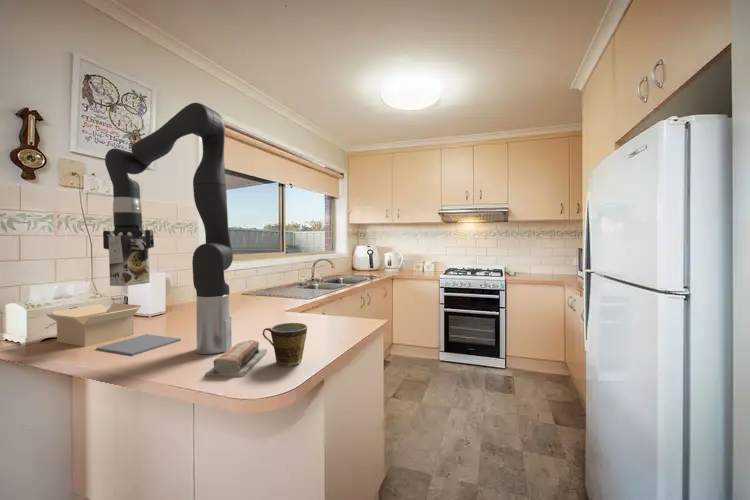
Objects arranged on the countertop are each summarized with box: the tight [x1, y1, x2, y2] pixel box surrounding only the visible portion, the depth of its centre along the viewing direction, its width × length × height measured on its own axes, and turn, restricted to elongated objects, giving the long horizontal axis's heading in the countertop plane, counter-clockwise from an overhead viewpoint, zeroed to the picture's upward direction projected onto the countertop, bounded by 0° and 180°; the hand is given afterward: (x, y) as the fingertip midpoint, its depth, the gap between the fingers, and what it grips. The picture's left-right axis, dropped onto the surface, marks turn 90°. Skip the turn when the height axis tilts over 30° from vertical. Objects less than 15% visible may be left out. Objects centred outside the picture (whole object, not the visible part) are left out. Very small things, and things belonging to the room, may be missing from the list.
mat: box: [96, 333, 181, 356], centre depth 107 cm, size 16×16×1 cm
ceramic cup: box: [262, 322, 308, 367], centre depth 93 cm, size 13×10×10 cm
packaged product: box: [204, 339, 268, 377], centre depth 92 cm, size 18×5×10 cm
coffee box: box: [108, 235, 151, 287], centre depth 109 cm, size 9×6×16 cm
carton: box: [45, 302, 142, 347], centre depth 115 cm, size 20×21×10 cm
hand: (129, 261), depth 109 cm, fingers closed on coffee box, 7 cm apart
